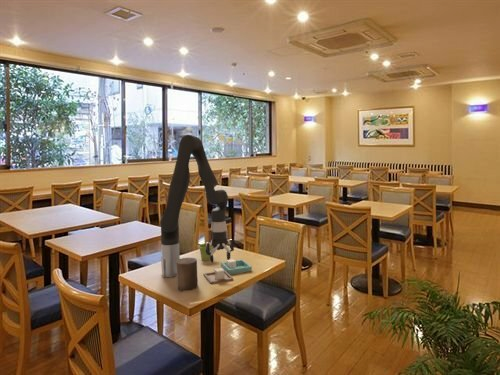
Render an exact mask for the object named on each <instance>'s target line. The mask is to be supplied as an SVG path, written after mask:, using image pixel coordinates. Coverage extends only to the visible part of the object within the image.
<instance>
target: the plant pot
mask: <svg viewBox="0 0 500 375" xmlns="http://www.w3.org/2000/svg"><path fill="white" fill-rule="evenodd" d="M212 247H213V246H212V245H211V246H210V249H209V252H210V251H211V249H212ZM198 249H199V250H200V251H199V253H200V258H201V260H202V261H203V262H204V261H205V262H207V261H208V262H209V261H210V255H207V254H206V243H201V244H198Z"/></svg>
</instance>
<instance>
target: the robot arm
mask: <svg viewBox="0 0 500 375" xmlns="http://www.w3.org/2000/svg"><path fill="white" fill-rule="evenodd" d="M176 156H177V157H176V161H175V165H174V169H173V174H172V176H171V179H170V184H169V188H168V195H167V202H166V206H165V208H164V212H163V214H162V215H161V218H160V221H159V225H160V233H161V234H160V242H161V244H160V245H161V246H160V247H161V256H160V257H161V258H160V260H161V274H162V277H163V278H175V277H177V262H176V261H177V260H179V259H181V256H180V255H181V254H180V231H179V230H180V229H179V221H180V220H179V218H180V212H181V207H182V205H183V203H184V200H185V198H186V195H187V192H188V189H189V185H190V181H191V174H190V159H191V156H193V159H194V160H195V161H196V163H197V164H196V165H197V170H198V175H199V178H200V180H201V182H202V185H203V187H204V192H205V196H206V200H207V202H208V204H209V205H211V206H216V207H215V208H214V209H212V210H211V211H210V212H211V213H210V215H211V218H210V219H211V225H210V226H211V227H210V230H211V242H207V241H206V242H205V244H206V254H207V255H210V260H209V261H210V262H211V264H212V263H214V262H215V260H214V254H215V253H216V252H217V251H220V250H225V251H226V261H227V260H231V252H233V251H235V247H234V240H233V239H232V238H229V239H228V235H227V234H228V233H227V222H226V211H227V206H228V202H229V201H228V200H229V196H228V192H227V191H226V190H224V189H217V190H216V189H215V187H216V186H217V185H218V183H219V182H218V180H217V177H216V175H215V173H214V172H213V170H212V167H211V165H210V163H209V160H208V157H207V154H206V151H205V147H204V144H203V142H202V140H201V138H200V137H197V136H195V135H192V134H189V133H186V134H184V135H183V136H181V139H180V140H179V144H178V151H177V155H176ZM228 244H229V247H228V246H227V245H228ZM211 245H212V246H213V247H212V249H211V251H210V252H209V249H210V246H211Z"/></svg>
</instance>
